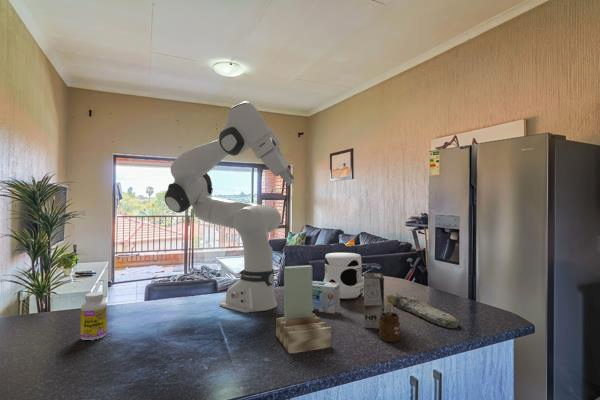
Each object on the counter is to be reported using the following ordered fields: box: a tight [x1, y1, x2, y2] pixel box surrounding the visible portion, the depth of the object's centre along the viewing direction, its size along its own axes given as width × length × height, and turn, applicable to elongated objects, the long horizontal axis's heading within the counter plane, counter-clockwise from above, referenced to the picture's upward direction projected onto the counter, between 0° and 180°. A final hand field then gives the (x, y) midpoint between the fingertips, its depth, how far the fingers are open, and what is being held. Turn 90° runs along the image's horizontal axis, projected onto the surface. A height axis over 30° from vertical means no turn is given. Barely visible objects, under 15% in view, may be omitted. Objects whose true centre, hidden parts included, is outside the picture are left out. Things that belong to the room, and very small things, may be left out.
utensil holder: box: [378, 295, 401, 343], centre depth 99 cm, size 6×6×12 cm
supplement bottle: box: [80, 291, 108, 341], centre depth 100 cm, size 7×7×13 cm
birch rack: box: [275, 313, 333, 354], centre depth 94 cm, size 12×13×6 cm
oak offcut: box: [294, 325, 321, 331], centre depth 90 cm, size 7×2×5 cm, turn 110°
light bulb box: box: [312, 280, 341, 314], centre depth 122 cm, size 11×7×11 cm, turn 68°
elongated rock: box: [386, 292, 459, 329], centre depth 124 cm, size 35×5×10 cm
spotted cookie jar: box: [322, 252, 364, 301], centre depth 143 cm, size 17×17×18 cm
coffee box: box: [363, 272, 385, 330], centre depth 112 cm, size 9×6×16 cm
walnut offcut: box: [286, 315, 320, 327], centre depth 94 cm, size 9×2×6 cm, turn 110°
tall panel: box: [283, 264, 313, 322], centre depth 98 cm, size 8×2×20 cm, turn 110°
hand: (291, 181), depth 110 cm, fingers open, 8 cm apart
